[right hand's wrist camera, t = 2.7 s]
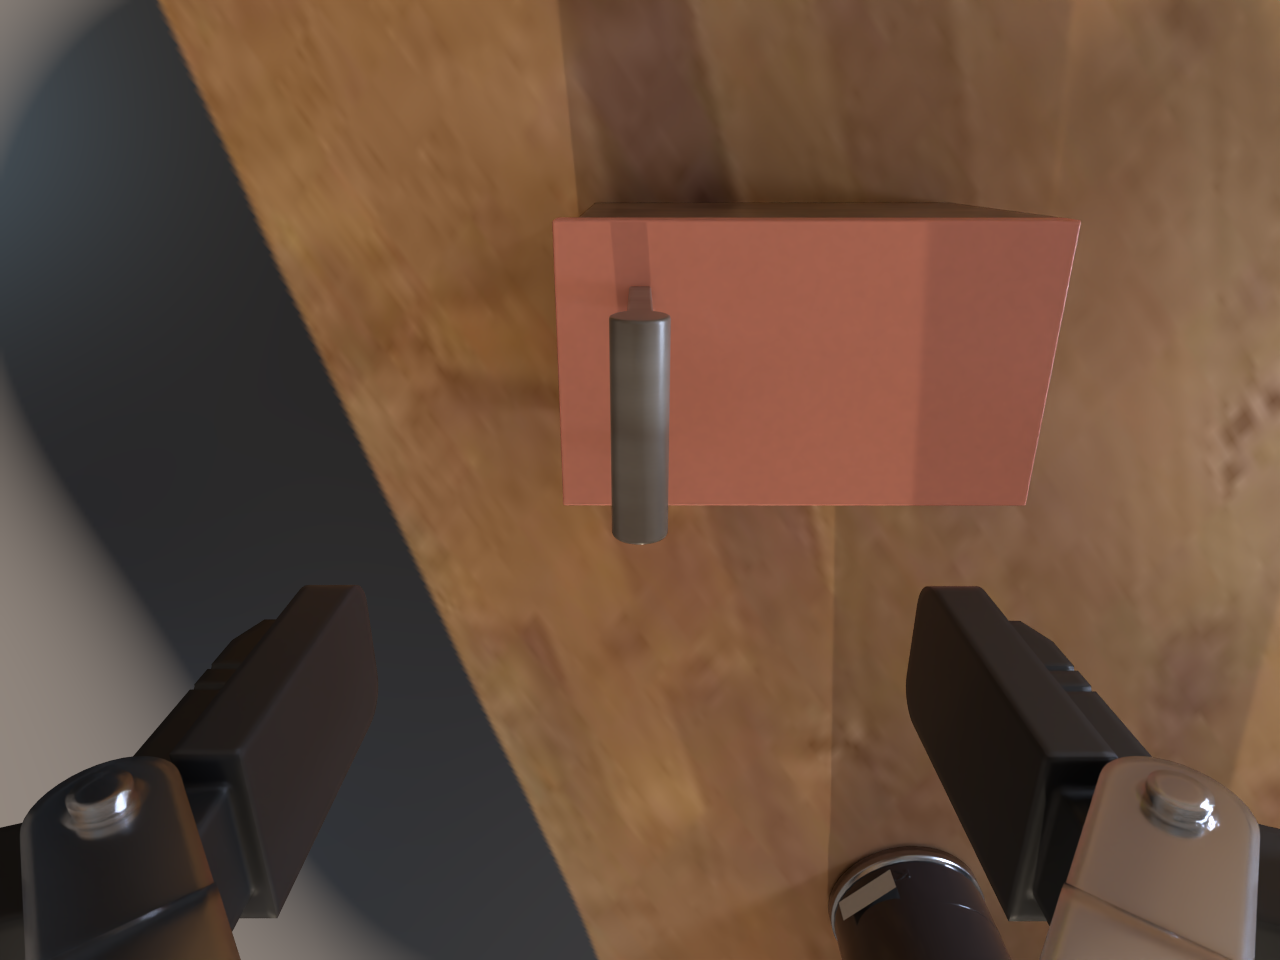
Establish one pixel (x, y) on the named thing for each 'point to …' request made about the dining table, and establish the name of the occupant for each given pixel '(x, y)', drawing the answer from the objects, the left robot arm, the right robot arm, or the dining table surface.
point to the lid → (803, 360)
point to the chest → (798, 210)
